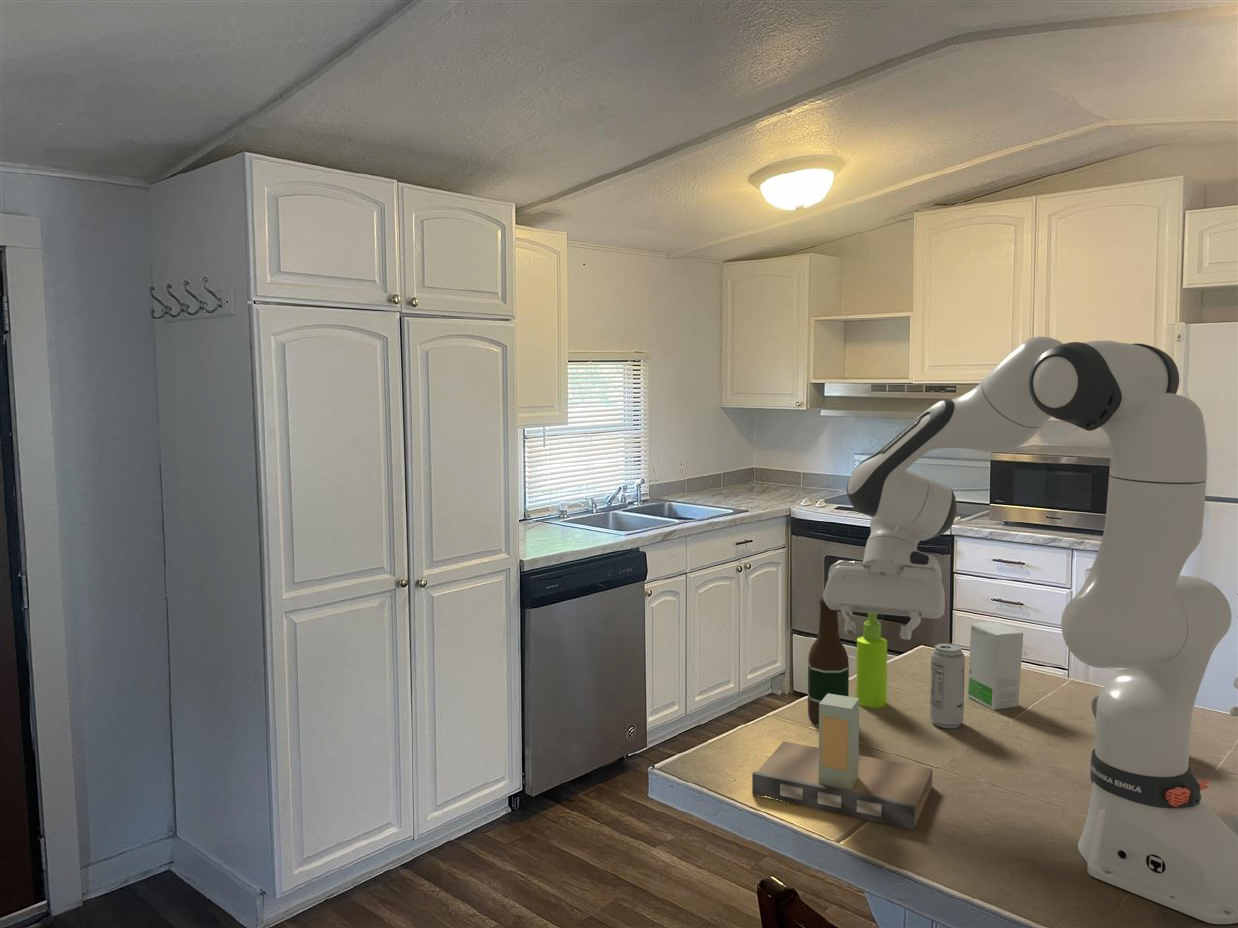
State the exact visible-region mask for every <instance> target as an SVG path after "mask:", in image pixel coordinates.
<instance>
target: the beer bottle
mask: <svg viewBox="0 0 1238 928" xmlns="http://www.w3.org/2000/svg"><path fill="white" fill-rule="evenodd" d="M818 604H819V605H820V607H819V620H818V621H819V622H818V633H817V638H816V640H815V641H814V642H813V643H812V645H811V647H810V650H809V652H808V659H807V712H808V713H807V715H808V717H809V719H810V721H811V724H812V723H813V724H815V725H818V726H819V703H820V702H821V701H822V700H823V698H824V697H825V696H826V695H827V694H828V693H829V694H835V695H842V696H848V697H849V692H850V691H849V689H850V688H849V685H850V684H849V683H850V680H849V679H850V676H849V675H850V674H849V673H850V667H849V666H850V665H849V663H850V661H849V656H848V653H847V651H846V648H845V646H844V645H843V644H842V642H841V639H840V631H839V617H838V612H839V611H838V610H831V609H830V608H829V607H828V606H827V605H826V603H825V601H824V599H823V597H821V598H819V601H818Z"/></svg>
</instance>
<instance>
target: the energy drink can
mask: <svg viewBox="0 0 1238 928" xmlns="http://www.w3.org/2000/svg"><path fill="white" fill-rule="evenodd" d="M962 650H963V649H962V647H961V645H958V644H955V643H951V642H950V643H949V642H948V643H947V642H941V643H936V644H934V649H933V650H932V652H931V654H930V689H929V691H930V692H929V694H930V697H929V699H930V700H929V718H930V719H931V720H932V723H933V725H935V727H936V726H937V727H940V728H943V729H956V728H959V727H960V726H961V724H962V723H963V722H964V711H965V707H964V706H965V704H964V703H965V671H966V669H965V667H966V664H965V663H966V658H965V657H966V656H965V654H964V652H963V651H962Z"/></svg>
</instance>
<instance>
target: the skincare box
mask: <svg viewBox="0 0 1238 928" xmlns="http://www.w3.org/2000/svg"><path fill="white" fill-rule="evenodd" d="M1023 640H1024V632H1022V631H1020V630H1017V629H1015V628H1013V627H1011V626H1010V625H1005V624H1004V623H1000V622H998V621H995V620H993V621H984V622H975V623H971V624H970V640H969V641H970V642H969V658H968V659H969V660H968V675H967V676H968V677H967V691H966V695H967V697H968V698H969V699H972V700H973V701H974V702H977V703H979V704H981V705H983V706H984V707H987V708H988V709H990V710H991V711H997V710H1003V709H1004V710H1005V709H1009V708H1010V709H1011V708H1019V702H1020V701H1019V700H1020V685H1021V684H1020V683H1021V674H1022V673H1021V672H1022V671H1021V669H1022V658H1023V657H1022V654H1023V643H1024V641H1023Z"/></svg>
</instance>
